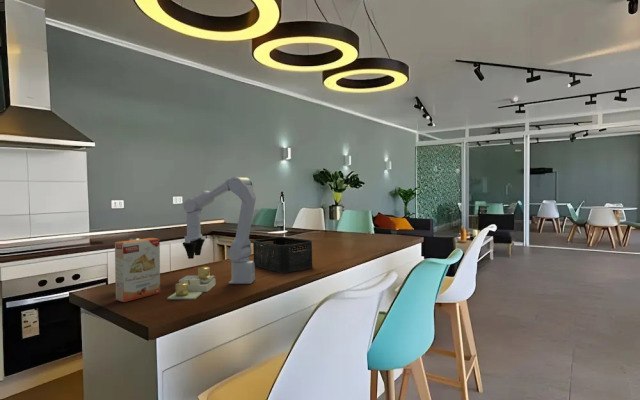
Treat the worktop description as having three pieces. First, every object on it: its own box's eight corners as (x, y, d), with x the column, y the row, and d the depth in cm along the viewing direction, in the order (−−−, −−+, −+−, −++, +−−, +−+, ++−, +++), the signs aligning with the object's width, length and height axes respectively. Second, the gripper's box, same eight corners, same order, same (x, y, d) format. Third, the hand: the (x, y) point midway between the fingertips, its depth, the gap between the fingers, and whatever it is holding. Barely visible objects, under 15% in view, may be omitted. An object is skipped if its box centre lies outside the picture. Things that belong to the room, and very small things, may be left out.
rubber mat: (202, 293, 132) (202, 292, 132) (195, 299, 125) (194, 297, 125) (176, 293, 132) (176, 292, 132) (167, 299, 125) (167, 297, 125)
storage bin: (250, 265, 181) (250, 239, 181) (281, 259, 195) (280, 235, 194) (284, 274, 160) (283, 245, 160) (315, 268, 174) (315, 241, 173)
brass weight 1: (190, 293, 131) (190, 282, 131) (185, 296, 126) (185, 285, 126) (178, 292, 131) (178, 282, 131) (173, 296, 126) (173, 285, 126)
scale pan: (214, 278, 144) (214, 275, 143) (208, 283, 136) (208, 280, 136) (186, 278, 144) (186, 275, 144) (178, 283, 136) (178, 280, 136)
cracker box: (124, 303, 121) (122, 243, 120) (115, 300, 124) (113, 241, 124) (161, 293, 133) (160, 238, 132) (152, 290, 136) (150, 237, 136)
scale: (215, 284, 144) (215, 273, 144) (206, 291, 134) (206, 279, 134) (186, 284, 144) (186, 273, 144) (175, 291, 134) (175, 279, 134)
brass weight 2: (211, 276, 142) (211, 266, 142) (207, 279, 138) (207, 269, 137) (200, 276, 142) (200, 266, 142) (196, 279, 138) (196, 269, 138)
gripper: (191, 224, 162) (192, 253, 162) (177, 228, 147) (178, 260, 148) (206, 224, 162) (207, 253, 162) (194, 227, 147) (194, 260, 148)
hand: (194, 256), depth 155 cm, fingers open, 7 cm apart
